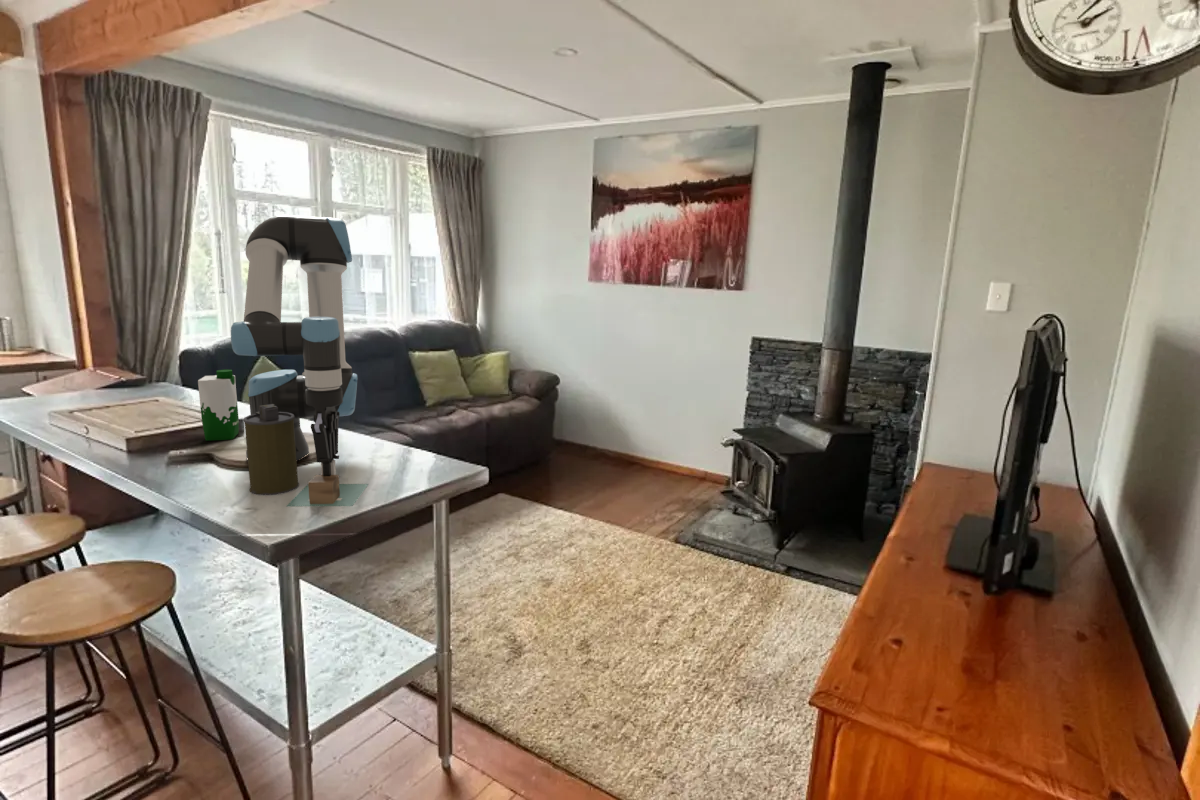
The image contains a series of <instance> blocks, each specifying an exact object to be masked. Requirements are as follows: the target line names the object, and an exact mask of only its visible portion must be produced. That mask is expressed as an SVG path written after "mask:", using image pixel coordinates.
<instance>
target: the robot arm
mask: <svg viewBox="0 0 1200 800" xmlns="http://www.w3.org/2000/svg"><path fill="white" fill-rule="evenodd" d="M245 256H246V258H247V260H248V271H247V272H248V273H247V279H246V280H247V281H246V293H245V303H244V314H243V320H241V321H236V322H233V323H232V324H231V327H230V344H231V349H232V351H233V353H235V354H236V355H237V356H247V357H248V356H249V357H251V356H253V357H258V356H259V357H261V356H263V357H264V356H302V357H303V369H304V371H303V372H302V374H301V375H298V372H297V371H296V370H295V369H278V370H272V371H267V372H262V373H258V374H255V375H254V376H252V377H251V378H250V379H249V380H248V392H247V393H248V394H247V397H248V399H249V400H248V401H249V411H250V415H252V414H255V412H259V406H262V405H269V404H274V405H275V406H277V407H278V412H288V413H292V414H293V415H294V433H295V447H296V460H299V459H301V458H302V457H304V456H305V455H307V454H308V453H309V454H310V448H309V444H308V442H307V439H306V437H305V435H304V433H303V430H302V428H301V420H300V419H313V422H314V423H311V424H310V429H311V432H312V438H313V442H314V443H313V444H314V450H315V456H316V461H315V462H316V463H320V468H321V469H320V470H321V475H323V476H331V475H337V470H336V469H337V468H336V460H339V459H340V455H337V454H339V422H340V421H339V420H340V417H344V416H345V417H346V416H351V415H352V414H353V413H354V412H355V409H356V402H357V401H356V400H357V391H358V390H357V388H358V374H357V373H354V372H353V367H352V366H351V365H350V364H349V363H348V362H347V361H346V346H345V342H346V341H345V325H344V324H345V323H344V301H343V299H344V298H343V285H342V284H343V283H342V278H343V277H342V276H343V273H344V272H345V271H347V269H348V267H347V266H348V263H352V261H353V256H352V250H351V244H350V237H349V234H348V229H347V225H346V222H345V221H344V220H343V219H340V218H335V217H328V216H311V215H309V216H307V215H290V214H279V215H274V216H272V217H270V218H267V219H266V220H264V221H262V222H261V223H260V224H259V225H258V226H256V227H255V228H254V230H252V232H251V233H250V235H249V236H248V238H247V241H246V245H245ZM288 261H299V262H300V265H299V266H300V268H301V269H302V270H303V271H304V272H305V273H306V283H307V298H308V299H307V302H308V316H307V317H304V318H303V319H301V321H299V322H297V321H295V322H293V321H292V322H291V321H290V322H289V321H282V305H283V304H282V301H283V299H282V298H283V276H284V266H285V265H286V264H287V262H288ZM245 454H246V455H245V456H246V459H247V458H248V456H247V449H246V450H245ZM299 461H300V460H299Z"/></svg>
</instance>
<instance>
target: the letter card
mask: <svg viewBox="0 0 1200 800" xmlns="http://www.w3.org/2000/svg"><path fill="white" fill-rule="evenodd" d="M367 487H369V483H339V490H340V496H339V497H338V498H337V500H336V501H335V502H334V503H333V504H310V501H309V486H308V484H306V486H304V488H303V489H302V490H301V491H299V492H298V493H297V494H296V496H295V497H294V498H292V500H291V501H289V502H288V504H286V507H353V506H354V505H355V503H357V501H358V499H359V498H360V497H361V495H362V494H363V493H364V491H365V490H366V488H367Z"/></svg>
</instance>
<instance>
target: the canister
mask: <svg viewBox="0 0 1200 800" xmlns="http://www.w3.org/2000/svg"><path fill="white" fill-rule="evenodd" d="M242 421H243V422H244V431H245V432H244V433H245V443H246V450H247V456H248V461H247V463H248V464H247V465H248V466H247V467H248V476H249V485H250V486H249V493H251V494H253V495H255V496H256V495H257V496H275V495H277V496H278V495H282V494H285V493H289V492H292V491H295V490H296V489H298V488H299V486H300V483H299V479H298V478H299V476H298V463H297V462H298V461H296V447H295V433H294V415H293V414H292V413H288V412H278V407H277V406H275V405H274V404H269V405H262V406H259V412H255V414H252V415H251V414H250V415H247V416H245V417H244V418H243V419H242Z"/></svg>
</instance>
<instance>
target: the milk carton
mask: <svg viewBox="0 0 1200 800" xmlns="http://www.w3.org/2000/svg"><path fill="white" fill-rule="evenodd" d="M215 372H216V374H215V375H204V376H203V377H201V378H199V379H198V380H197V385H198V394H199V396H198V397H199V406H200V416H201V423H202V429H203V434H204V439H205V441H206V442H207V441H208V442H209V441H226V440H227V441H228V440H229V441H230V440H231V441H232V440H234V439H235V438H236V437H237V436H238V435H239V431H240V429H239V427H240V426H239V423H240V421H239V419H240V418H239V408H238V407H239V406H238V397H237V388H236V387H237V386H236V375H234V374H233V370H232V369H227V368H225V369H218V370H216V371H215Z"/></svg>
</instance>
